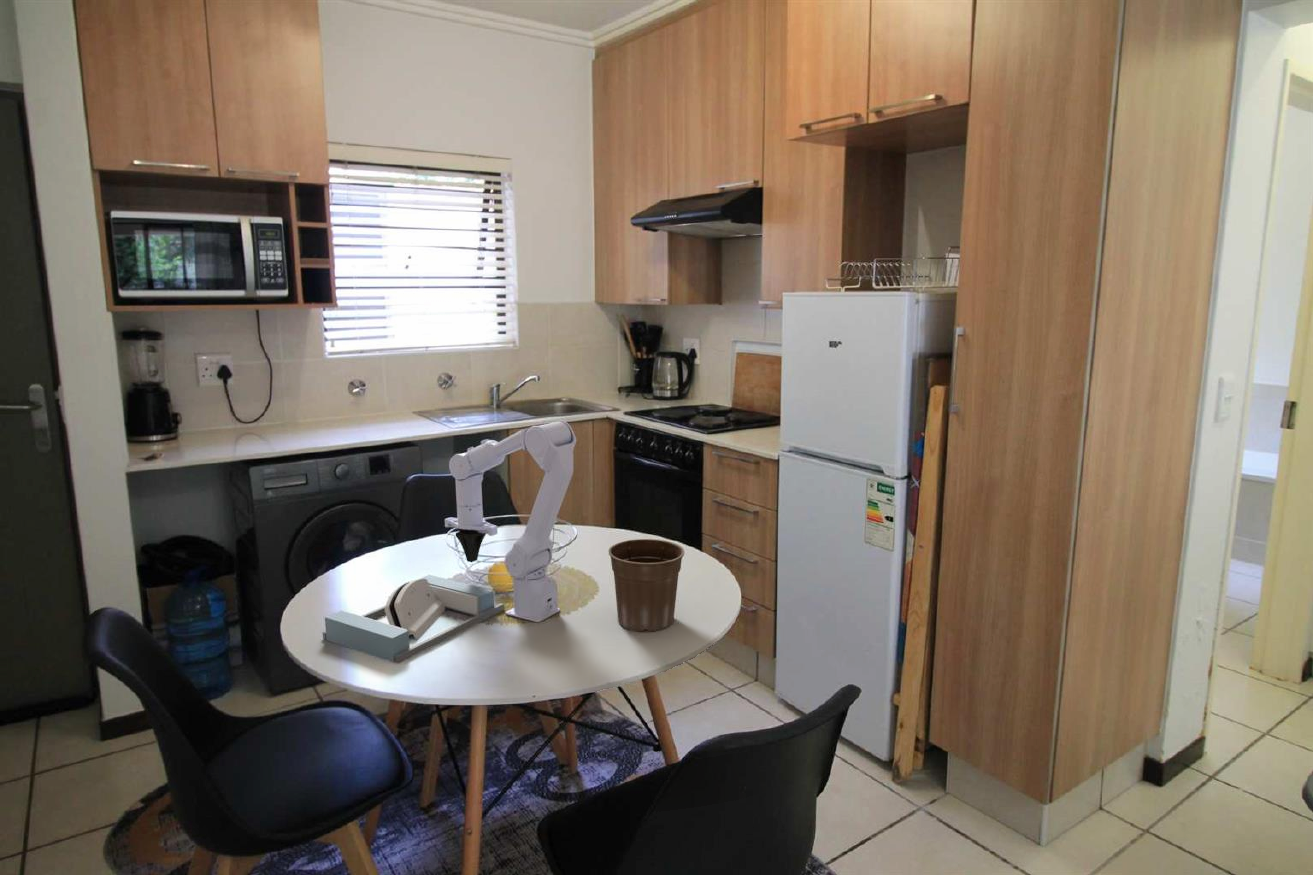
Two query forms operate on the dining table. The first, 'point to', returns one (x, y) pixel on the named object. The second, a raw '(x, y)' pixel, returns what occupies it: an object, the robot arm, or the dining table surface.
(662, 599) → the plant pot
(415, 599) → the hinge
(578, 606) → the dining table surface
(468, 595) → the block
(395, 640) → the vise
